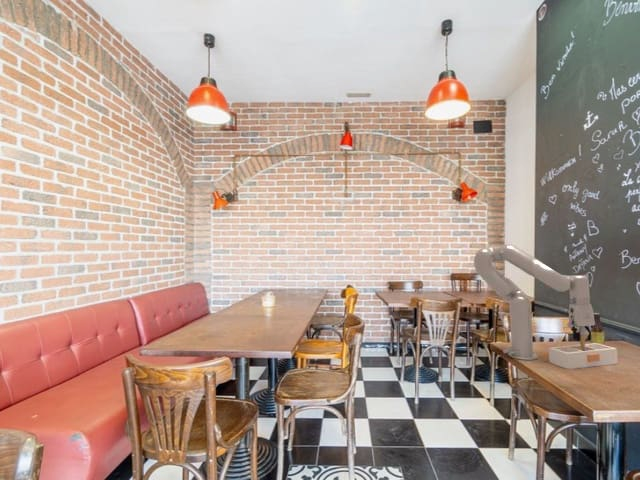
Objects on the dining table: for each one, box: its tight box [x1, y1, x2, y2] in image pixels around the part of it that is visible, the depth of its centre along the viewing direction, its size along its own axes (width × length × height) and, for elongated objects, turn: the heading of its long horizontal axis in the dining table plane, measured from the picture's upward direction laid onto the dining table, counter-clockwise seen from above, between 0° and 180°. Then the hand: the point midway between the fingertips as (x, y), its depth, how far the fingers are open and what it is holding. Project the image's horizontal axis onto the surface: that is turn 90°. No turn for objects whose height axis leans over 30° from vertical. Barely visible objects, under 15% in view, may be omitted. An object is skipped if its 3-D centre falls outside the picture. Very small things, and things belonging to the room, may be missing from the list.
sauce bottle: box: [589, 312, 606, 346], centre depth 180 cm, size 7×6×20 cm
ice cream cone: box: [579, 326, 589, 351], centre depth 164 cm, size 6×6×15 cm
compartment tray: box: [548, 343, 619, 370], centre depth 163 cm, size 28×11×7 cm, turn 101°
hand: (582, 339), depth 164 cm, fingers closed on ice cream cone, 5 cm apart
